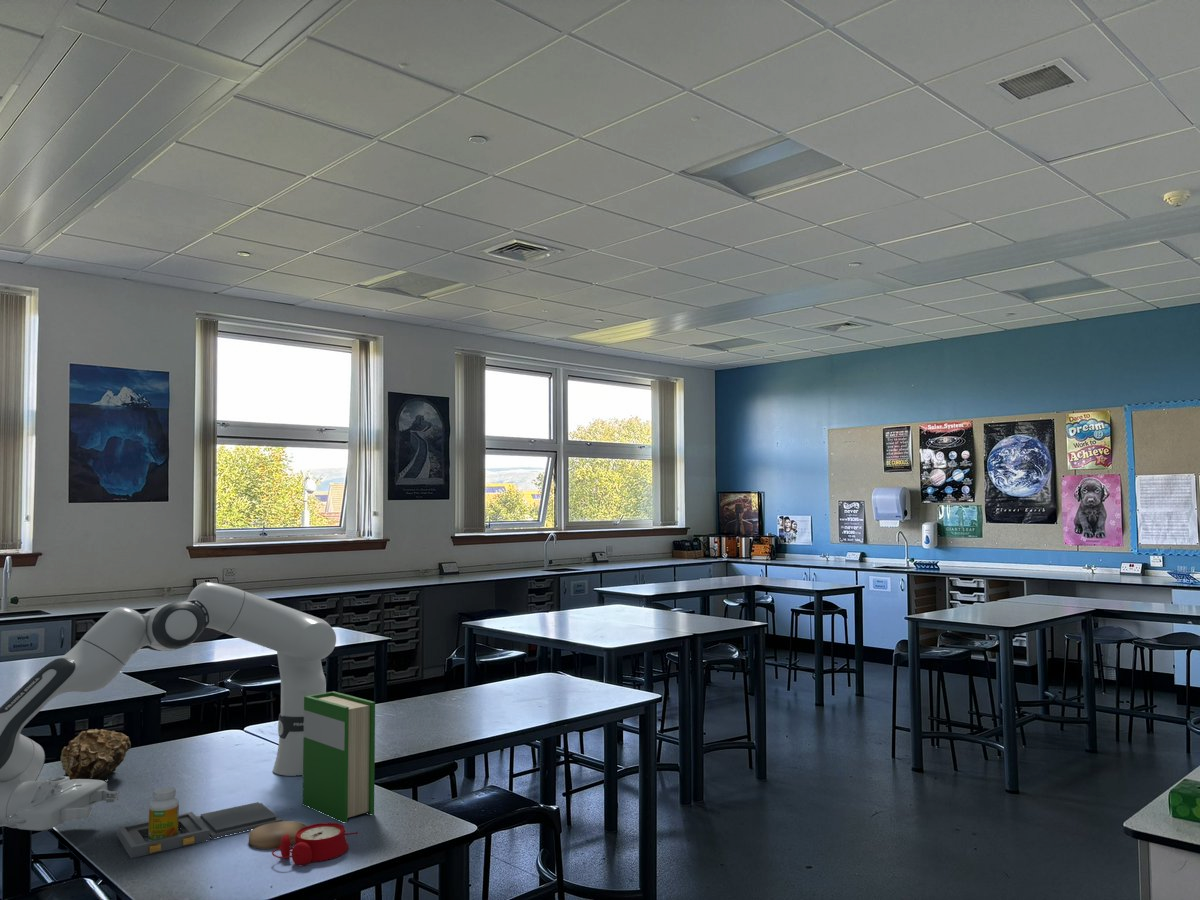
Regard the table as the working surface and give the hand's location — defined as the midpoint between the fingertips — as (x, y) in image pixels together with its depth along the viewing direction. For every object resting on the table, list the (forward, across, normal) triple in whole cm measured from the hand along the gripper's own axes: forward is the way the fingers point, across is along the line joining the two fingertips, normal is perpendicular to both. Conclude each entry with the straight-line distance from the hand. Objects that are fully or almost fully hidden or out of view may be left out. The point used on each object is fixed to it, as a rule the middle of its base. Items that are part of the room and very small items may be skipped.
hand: (103, 804), depth 175 cm
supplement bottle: (+12, 0, +7) cm, 14 cm away
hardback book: (+43, +17, +7) cm, 46 cm away
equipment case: (+18, +4, +7) cm, 20 cm away
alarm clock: (+46, -9, +7) cm, 47 cm away
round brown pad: (+36, 0, +7) cm, 37 cm away
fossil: (-25, +40, +7) cm, 48 cm away
